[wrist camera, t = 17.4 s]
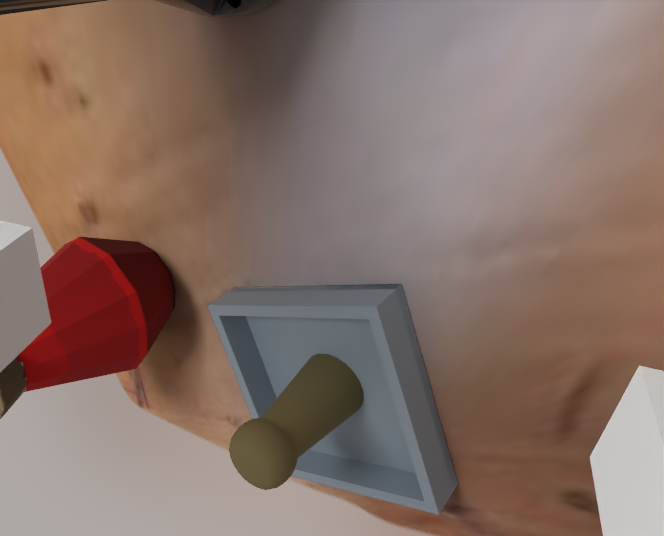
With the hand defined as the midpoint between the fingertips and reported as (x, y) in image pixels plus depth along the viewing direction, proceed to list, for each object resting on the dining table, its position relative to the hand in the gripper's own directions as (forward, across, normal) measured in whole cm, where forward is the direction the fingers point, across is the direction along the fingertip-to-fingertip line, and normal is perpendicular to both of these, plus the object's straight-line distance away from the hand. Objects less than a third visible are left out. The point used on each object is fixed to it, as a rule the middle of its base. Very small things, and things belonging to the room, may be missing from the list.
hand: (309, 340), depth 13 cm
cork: (+27, -2, -27) cm, 38 cm away
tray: (+27, -2, -28) cm, 39 cm away
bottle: (+36, -25, -29) cm, 53 cm away
